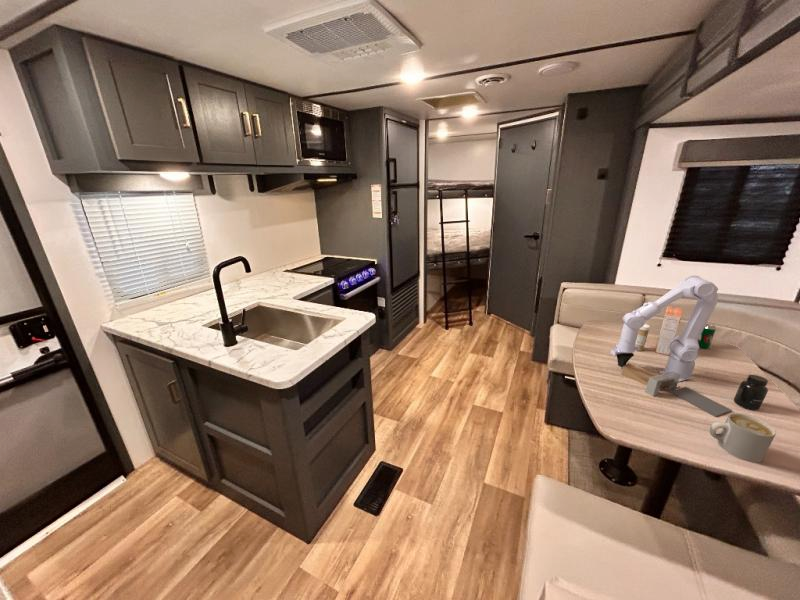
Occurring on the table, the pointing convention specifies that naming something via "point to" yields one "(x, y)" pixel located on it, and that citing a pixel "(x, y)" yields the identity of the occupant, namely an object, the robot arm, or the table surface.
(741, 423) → the coffee mug
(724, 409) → the pad
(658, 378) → the housing
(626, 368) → the wooden block
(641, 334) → the sprinkles bottle
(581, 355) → the table surface
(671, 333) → the cracker box
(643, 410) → the table surface
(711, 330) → the soda can
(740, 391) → the supplement bottle
